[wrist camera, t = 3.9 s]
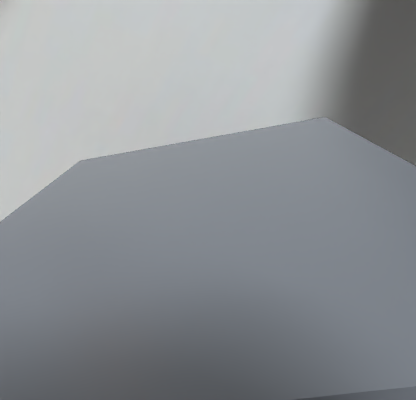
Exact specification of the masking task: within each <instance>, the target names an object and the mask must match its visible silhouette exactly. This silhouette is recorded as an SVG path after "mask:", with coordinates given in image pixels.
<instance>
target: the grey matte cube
mask: <svg viewBox="0 0 416 400" xmlns="http://www.w3.org/2000/svg"><path fill="white" fill-rule="evenodd" d="M0 400H416V166H415V165H413V164H411V163H409V162H408V161H406V160H404V159H402V158H400V157H398V156H396V155H395V154H393V153H391V152H389V151H387V150H385V149H383V148H382V147H380V146H378V145H376V144H374V143H372V142H371V141H369V140H367V139H365V138H363V137H361V136H359V135H358V134H356V133H354V132H352V131H350V130H348V129H346V128H345V127H343V126H341V125H339V124H337V123H335V122H333V121H332V120H330V119H328V118H326V117H322V118H317V119H311V120H305V121H300V122H294V123H289V124H283V125H277V126H272V127H266V128H261V129H255V130H249V131H244V132H238V133H233V134H227V135H221V136H216V137H210V138H204V139H199V140H193V141H188V142H182V143H176V144H171V145H165V146H160V147H154V148H148V149H143V150H137V151H132V152H126V153H120V154H115V155H109V156H104V157H98V158H92V159H87V160H81V161H79V162H78V163H77V164H75V165H74V166H73V167H71V168H70V169H69V170H67V171H66V172H65V173H63V174H62V175H61V176H60V177H58V178H57V179H56V180H54V181H53V182H52V183H50V184H49V185H48V186H46V187H45V188H44V189H43V190H41V191H40V192H39V193H37V194H36V195H35V196H33V197H32V198H31V199H29V200H28V201H27V202H26V203H24V204H23V205H22V206H20V207H19V208H18V209H16V210H15V211H14V212H12V213H11V214H10V215H9V216H7V217H6V218H5V219H3V220H2V221H1V222H0Z"/></svg>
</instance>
